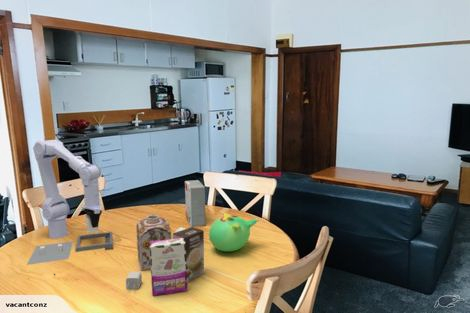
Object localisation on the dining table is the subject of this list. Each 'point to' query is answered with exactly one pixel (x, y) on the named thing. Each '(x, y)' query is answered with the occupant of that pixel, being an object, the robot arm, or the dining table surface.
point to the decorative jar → (150, 237)
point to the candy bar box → (168, 266)
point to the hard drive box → (195, 203)
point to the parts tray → (107, 245)
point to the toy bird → (230, 232)
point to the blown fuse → (89, 226)
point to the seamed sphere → (180, 229)
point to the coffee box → (193, 251)
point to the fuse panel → (50, 253)
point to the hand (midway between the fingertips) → (93, 225)
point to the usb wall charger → (133, 280)
